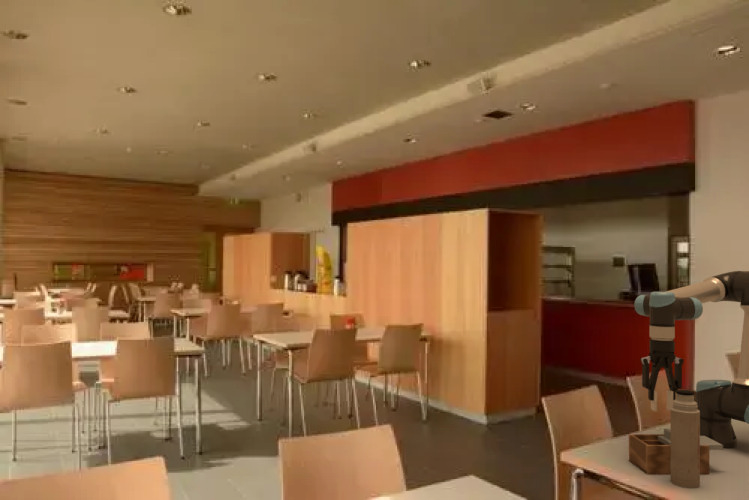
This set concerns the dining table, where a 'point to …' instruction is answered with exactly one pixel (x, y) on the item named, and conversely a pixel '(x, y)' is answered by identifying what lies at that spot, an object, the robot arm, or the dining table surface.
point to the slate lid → (703, 441)
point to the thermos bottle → (685, 441)
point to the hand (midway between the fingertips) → (661, 410)
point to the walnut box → (658, 455)
